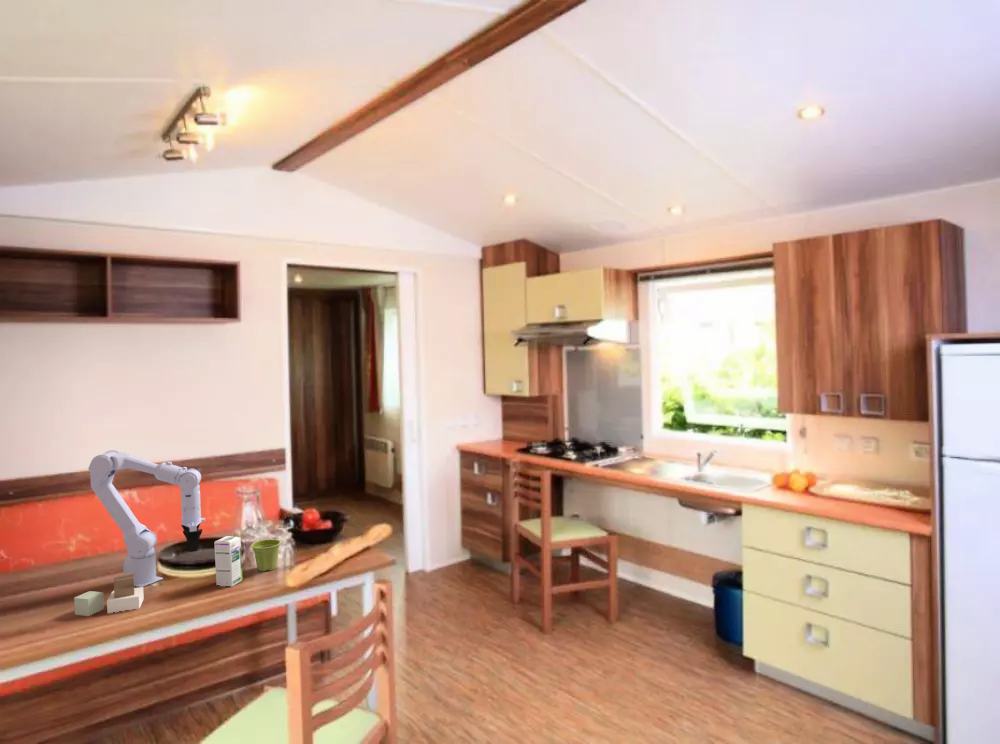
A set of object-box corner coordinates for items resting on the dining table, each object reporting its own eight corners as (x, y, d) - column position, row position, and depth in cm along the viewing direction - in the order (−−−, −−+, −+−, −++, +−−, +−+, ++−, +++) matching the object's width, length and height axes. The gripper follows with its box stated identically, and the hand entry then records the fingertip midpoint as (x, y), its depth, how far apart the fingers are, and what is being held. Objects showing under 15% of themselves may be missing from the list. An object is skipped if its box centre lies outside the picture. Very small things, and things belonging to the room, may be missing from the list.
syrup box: (232, 587, 202) (230, 541, 202) (215, 586, 204) (213, 540, 203) (243, 580, 208) (241, 536, 207) (226, 579, 209) (225, 535, 209)
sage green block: (74, 614, 184) (74, 597, 183) (90, 607, 188) (89, 591, 188) (89, 616, 182) (88, 599, 182) (104, 609, 187) (103, 592, 187)
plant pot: (268, 574, 213) (267, 548, 213) (246, 571, 216) (245, 546, 216) (287, 565, 222) (286, 540, 221) (265, 562, 225) (264, 538, 225)
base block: (113, 604, 191) (112, 590, 191) (143, 599, 194) (143, 586, 194) (107, 614, 184) (107, 600, 184) (139, 610, 187) (138, 596, 187)
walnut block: (114, 592, 190) (114, 576, 190) (134, 589, 192) (133, 572, 192) (114, 598, 185) (113, 581, 185) (134, 594, 188) (133, 577, 188)
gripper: (206, 510, 206) (207, 552, 206) (202, 500, 218) (204, 540, 219) (181, 513, 202) (183, 555, 203) (179, 503, 215) (181, 543, 216)
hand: (192, 548), depth 211 cm, fingers open, 7 cm apart
